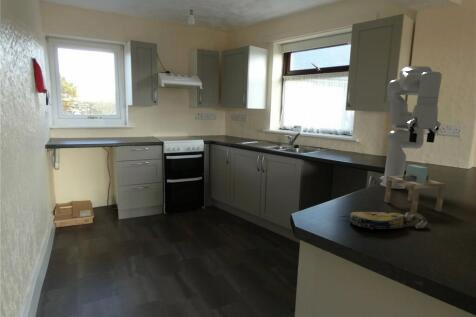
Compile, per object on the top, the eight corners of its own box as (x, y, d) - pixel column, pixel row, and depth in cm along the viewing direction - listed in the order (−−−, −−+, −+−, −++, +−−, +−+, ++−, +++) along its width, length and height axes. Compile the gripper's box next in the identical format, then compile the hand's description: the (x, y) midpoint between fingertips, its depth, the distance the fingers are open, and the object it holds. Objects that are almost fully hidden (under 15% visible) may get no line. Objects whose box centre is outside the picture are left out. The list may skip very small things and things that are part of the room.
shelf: (384, 201, 138) (387, 171, 135) (409, 200, 142) (413, 171, 140) (413, 213, 123) (418, 180, 120) (441, 211, 127) (446, 179, 125)
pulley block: (442, 216, 101) (356, 215, 99) (442, 233, 101) (355, 232, 99) (414, 209, 115) (338, 207, 113) (414, 224, 115) (338, 223, 113)
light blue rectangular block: (404, 182, 133) (407, 164, 132) (411, 182, 135) (414, 164, 133) (417, 186, 127) (420, 167, 126) (425, 186, 128) (427, 167, 127)
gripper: (434, 102, 132) (429, 141, 135) (403, 101, 128) (398, 141, 131) (451, 102, 125) (444, 143, 128) (418, 101, 121) (412, 143, 123)
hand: (421, 142), depth 129 cm, fingers open, 9 cm apart
